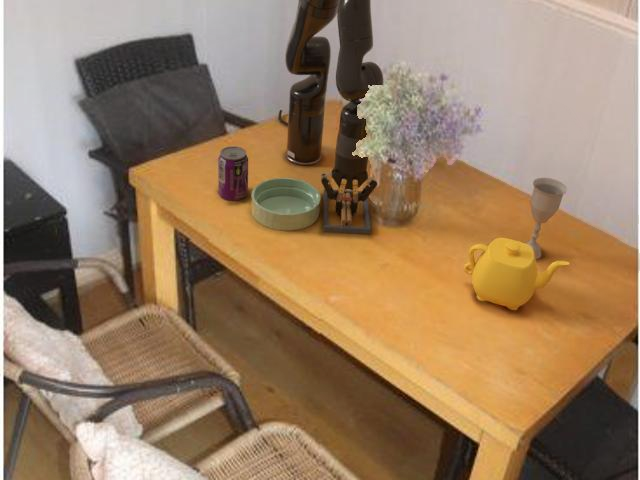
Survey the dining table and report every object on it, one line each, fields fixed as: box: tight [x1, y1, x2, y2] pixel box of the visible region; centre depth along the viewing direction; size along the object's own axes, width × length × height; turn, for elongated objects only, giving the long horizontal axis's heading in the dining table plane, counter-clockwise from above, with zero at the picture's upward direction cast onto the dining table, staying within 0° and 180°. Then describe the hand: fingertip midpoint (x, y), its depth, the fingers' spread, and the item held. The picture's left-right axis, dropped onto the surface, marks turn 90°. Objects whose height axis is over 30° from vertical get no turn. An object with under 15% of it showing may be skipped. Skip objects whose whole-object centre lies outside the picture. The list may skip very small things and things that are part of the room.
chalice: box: [524, 177, 568, 260], centre depth 164 cm, size 7×7×18 cm
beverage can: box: [217, 145, 249, 202], centre depth 176 cm, size 7×7×12 cm
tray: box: [323, 188, 371, 236], centre depth 175 cm, size 17×11×2 cm, turn 1°
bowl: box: [250, 177, 322, 231], centre depth 173 cm, size 16×16×5 cm
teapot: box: [463, 237, 571, 311], centre depth 152 cm, size 14×20×13 cm
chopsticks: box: [340, 193, 353, 227], centre depth 175 cm, size 12×2×2 cm, turn 0°
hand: (345, 213), depth 175 cm, fingers closed on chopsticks, 2 cm apart
